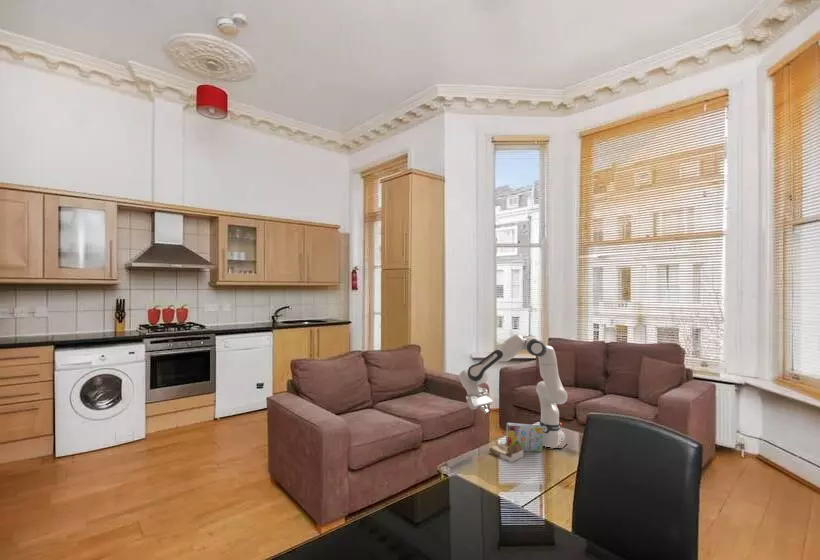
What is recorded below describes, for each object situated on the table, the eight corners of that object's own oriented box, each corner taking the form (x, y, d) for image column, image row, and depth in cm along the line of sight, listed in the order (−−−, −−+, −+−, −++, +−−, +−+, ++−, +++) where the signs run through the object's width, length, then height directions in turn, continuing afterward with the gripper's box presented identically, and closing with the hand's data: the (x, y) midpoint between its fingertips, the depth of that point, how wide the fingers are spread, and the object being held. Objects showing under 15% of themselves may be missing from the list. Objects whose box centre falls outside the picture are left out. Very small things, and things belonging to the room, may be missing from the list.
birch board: (501, 448, 254) (501, 443, 254) (516, 454, 246) (516, 449, 246) (489, 452, 246) (489, 447, 246) (504, 458, 238) (504, 453, 238)
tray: (511, 452, 248) (512, 445, 248) (523, 457, 242) (523, 450, 242) (499, 456, 240) (500, 450, 240) (511, 461, 234) (511, 454, 234)
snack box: (539, 449, 256) (541, 424, 257) (542, 452, 251) (543, 427, 251) (505, 446, 258) (506, 422, 258) (506, 449, 252) (508, 425, 253)
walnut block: (510, 447, 244) (519, 442, 240) (514, 453, 242) (522, 449, 238) (506, 448, 241) (515, 444, 237) (510, 455, 240) (518, 451, 236)
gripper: (467, 393, 256) (479, 412, 249) (487, 388, 270) (499, 407, 263) (461, 398, 260) (473, 418, 252) (482, 393, 273) (493, 412, 266)
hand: (486, 412), depth 258 cm, fingers closed
